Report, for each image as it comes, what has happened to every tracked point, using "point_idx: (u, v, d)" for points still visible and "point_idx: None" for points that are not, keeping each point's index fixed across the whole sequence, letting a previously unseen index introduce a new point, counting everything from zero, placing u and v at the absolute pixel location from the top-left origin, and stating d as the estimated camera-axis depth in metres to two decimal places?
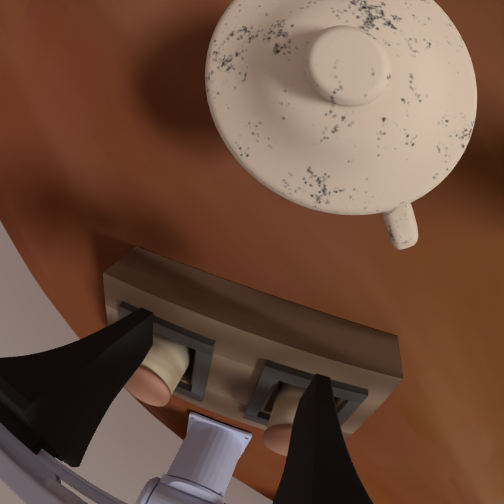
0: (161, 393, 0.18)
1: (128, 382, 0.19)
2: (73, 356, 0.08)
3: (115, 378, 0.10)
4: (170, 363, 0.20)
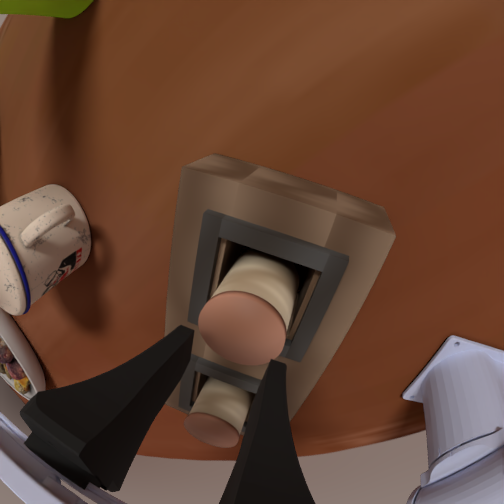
0: (205, 422, 0.18)
1: (211, 440, 0.20)
2: (120, 384, 0.08)
3: (157, 400, 0.10)
4: (201, 397, 0.20)
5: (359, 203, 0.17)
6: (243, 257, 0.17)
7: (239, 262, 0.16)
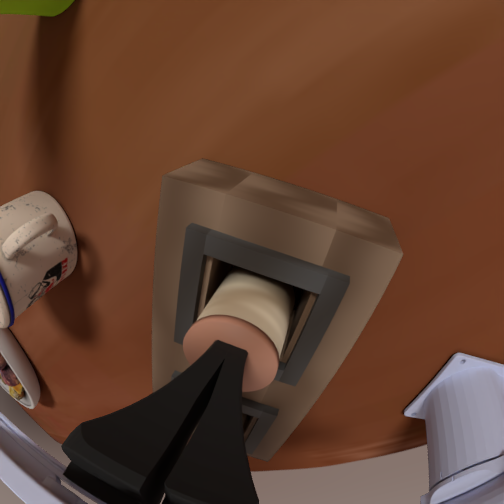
0: None
1: None
2: (166, 407, 0.08)
3: (197, 417, 0.10)
4: None
5: (362, 214, 0.15)
6: (233, 273, 0.15)
7: (229, 279, 0.15)
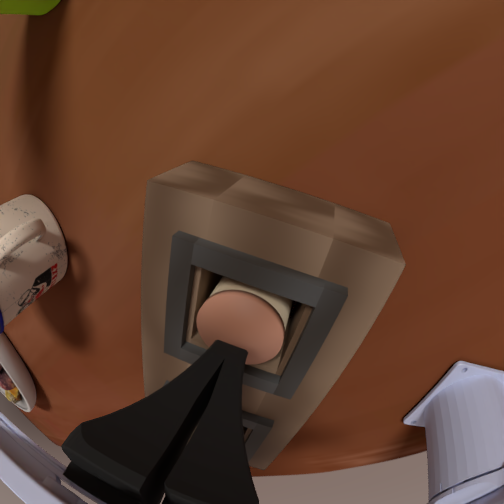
0: None
1: None
2: (166, 407, 0.08)
3: (196, 417, 0.10)
4: None
5: (361, 220, 0.14)
6: None
7: None
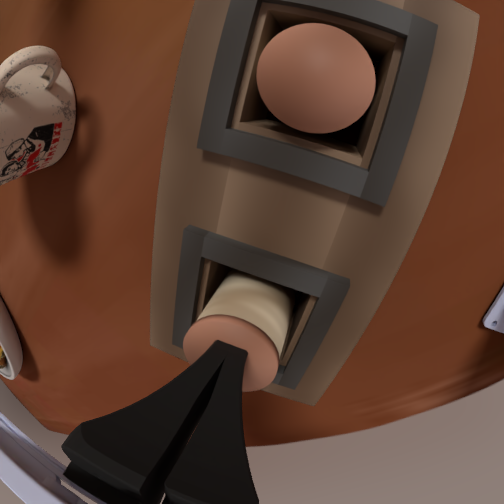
0: (222, 331, 0.11)
1: None
2: (166, 407, 0.08)
3: (196, 417, 0.10)
4: (214, 298, 0.13)
5: None
6: None
7: None
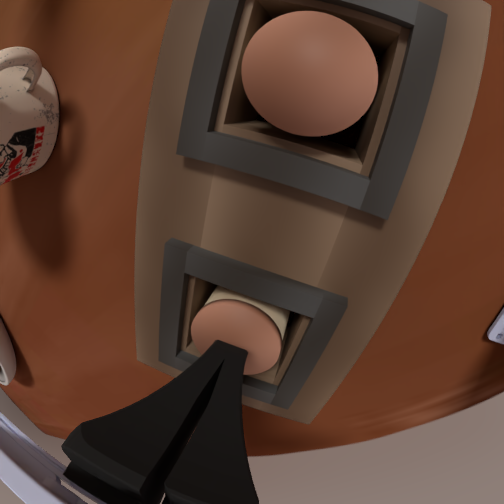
0: (229, 314, 0.12)
1: None
2: (166, 407, 0.08)
3: (196, 417, 0.10)
4: None
5: None
6: None
7: None
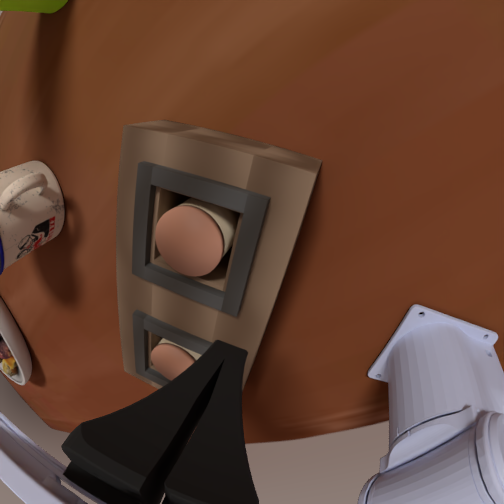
0: (168, 351, 0.21)
1: (175, 376, 0.23)
2: (166, 407, 0.08)
3: (196, 417, 0.10)
4: None
5: (292, 154, 0.17)
6: None
7: None
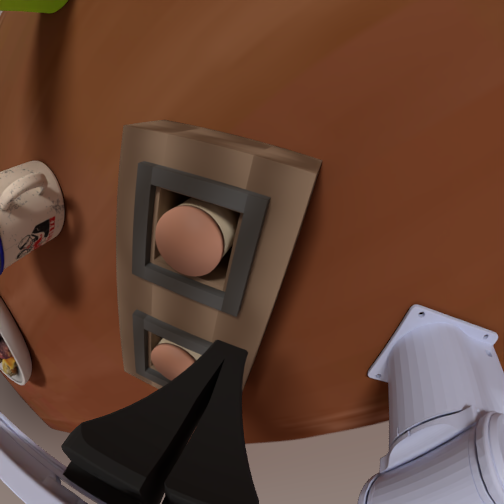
0: (168, 351, 0.21)
1: (175, 376, 0.23)
2: (166, 407, 0.08)
3: (196, 417, 0.10)
4: None
5: (292, 154, 0.17)
6: None
7: None
